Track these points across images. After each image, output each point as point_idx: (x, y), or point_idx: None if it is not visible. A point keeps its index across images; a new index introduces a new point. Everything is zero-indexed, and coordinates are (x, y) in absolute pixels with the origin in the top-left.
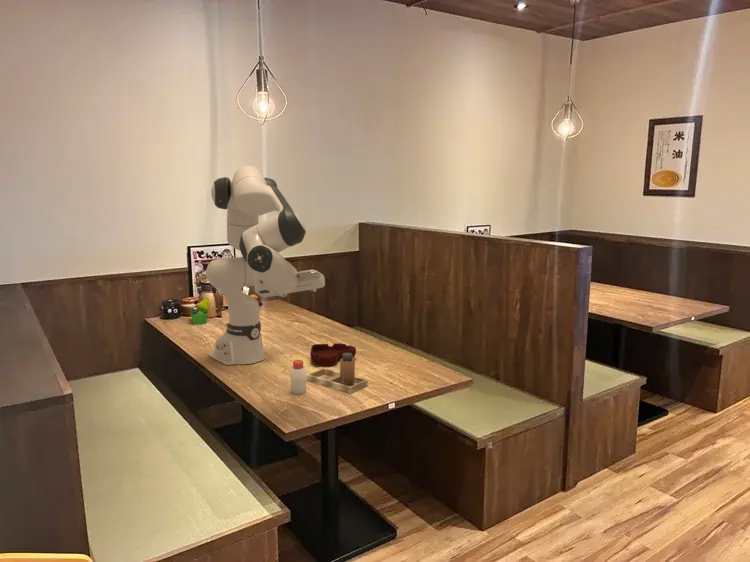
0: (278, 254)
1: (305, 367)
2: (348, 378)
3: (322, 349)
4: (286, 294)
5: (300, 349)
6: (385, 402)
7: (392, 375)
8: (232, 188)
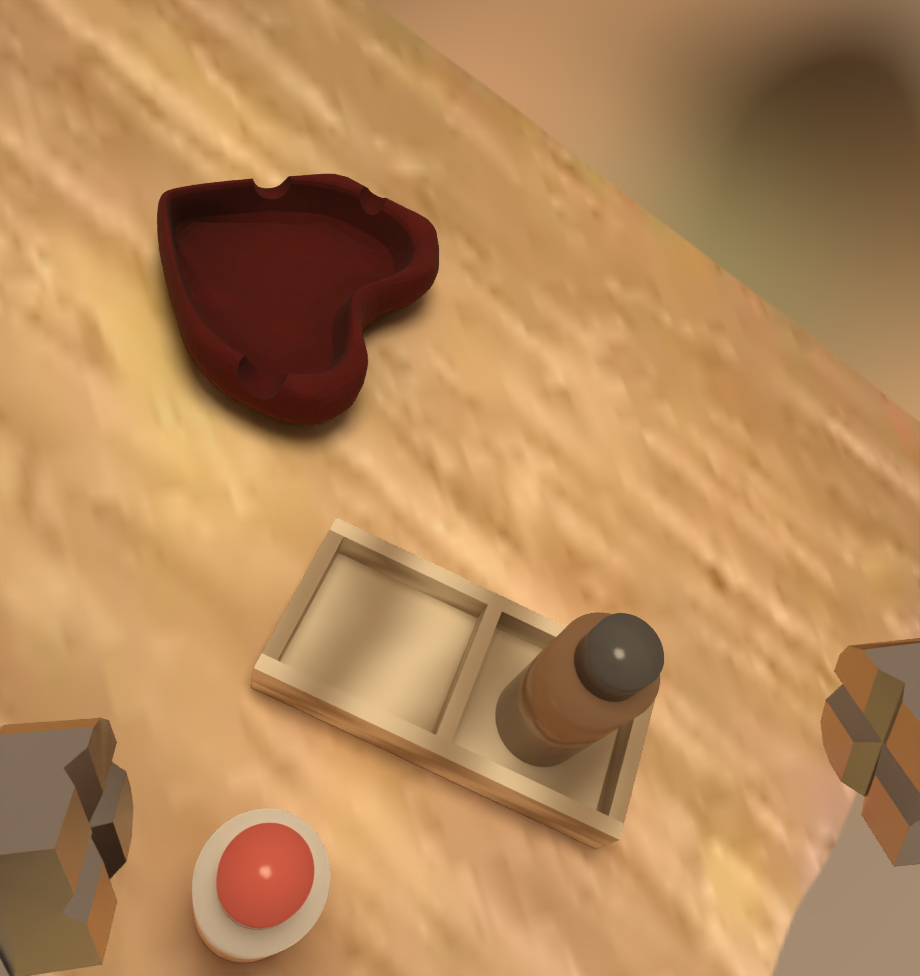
0: None
1: (325, 860)
2: (587, 746)
3: (222, 213)
4: (117, 818)
5: (54, 155)
6: (805, 877)
7: (682, 477)
8: None
